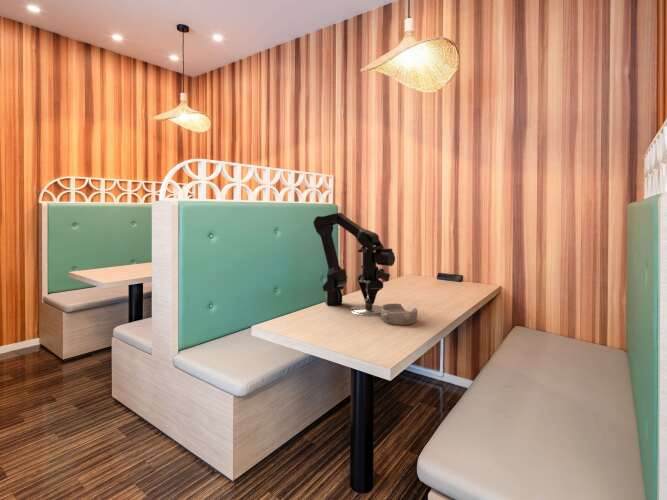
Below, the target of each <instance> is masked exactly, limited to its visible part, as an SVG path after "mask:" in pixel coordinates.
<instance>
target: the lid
mask: <svg viewBox="0 0 667 500" xmlns="http://www.w3.org/2000/svg"><path fill="white" fill-rule="evenodd" d="M363 301H364V302H365V303H364V304H358V305H354V306H352V307H350V308H349V313H350V314H353V315H356V316H361V317H381V307H382V306H383V305H377V304H371V303H370V300H369V297H367V298H364V297H363Z"/></svg>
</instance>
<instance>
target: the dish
mask: <svg viewBox="0 0 667 500" xmlns="http://www.w3.org/2000/svg"><path fill="white" fill-rule="evenodd" d="M381 306H382V307H381V316H380V319H381V320H382V321H384V323H387V324H390V325H398V326H399V325H402V326H403V325H404V326H407V325H413V324H414V323H417V320H418V308H416V307H414V308H413V309H412V310H411V311H407V310H406V309H405V308H404V307H403V306H402V304H401V303H387V304H383V305H381Z"/></svg>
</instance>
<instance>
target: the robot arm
mask: <svg viewBox="0 0 667 500" xmlns="http://www.w3.org/2000/svg"><path fill="white" fill-rule="evenodd" d="M334 225H338V226H340V227H342V228H343V229H344V230H345V231H347V232H348V233H349V234H351V235H352V236H354V237H355V238H356V241H357V242H358V244H360V246H361V247H360V248H359V249H357V252H358V253H362V255H361V256H362V260H361V261H362V263H361V264H362V265H360V268H361V269H362V270H361V271H362V273H358V274H356V277H355V278H356V279H355V281H356V282H357V285H358V287H359V290H360V292H361V294H362V297H363V299H364V298H369V300H370V303H371V304H373V305H375V304H374V303H375V300H376V297H377V294H378V292H379V291H382V289H383V288H384V282H383V280H384V281H385V282H389V280H390V277H391V274H390V273H388V272H385V269H383V268H381V267H378V266H386V267H392V266H393V265H394V264H395V261H396V256H395V253H394V252H393V248H385V247H384V245H383V244H382V242H381V240H380V237H379V234H378V233H376V232H374V231H371V230H367V229H365V228H363V227H361V226H360V225H359V224H357V223H356V222H354V221H353V220H352V219H350V218H348V217H347V216H346V215H344V214H343V213H342V212H334V213H332V214H327V215H320V216H319V215H317V216H316V217H315V218H314V220H313V227H314V230H315V232H316V233H317V234H318V235H319V237H320V238H321V243H322V247H323V252H324V256H325V258H326V259H325V260H326V264H327V267H328V268H327V269H328V270H327V273H326V279H327V280H326V282H325V283H324V284H323V285H322V290H323V292H325V302H324V303H325V304H326V305H327V306H328V307H330V306H342V305H343V292H342V290H344V289H345V285H346V283H348V280H347V278H348V275H347V271H346V269H345V268H342V267H341V266H340V264H339V263H340V262H339V259H338V255H337V251H336V246H335V242H334V238H333V231H334ZM377 265H378V266H377Z"/></svg>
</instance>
